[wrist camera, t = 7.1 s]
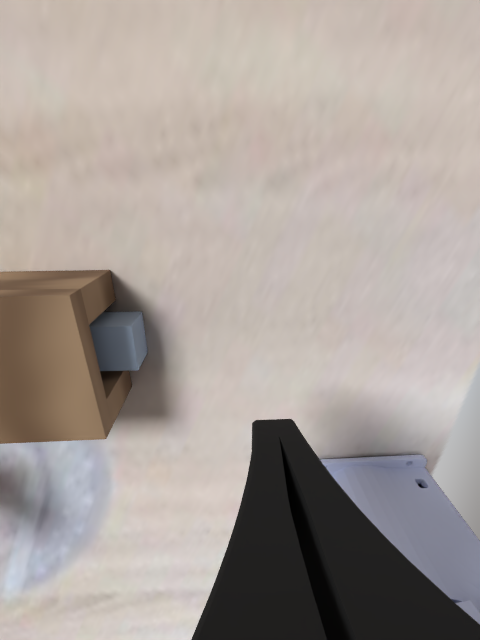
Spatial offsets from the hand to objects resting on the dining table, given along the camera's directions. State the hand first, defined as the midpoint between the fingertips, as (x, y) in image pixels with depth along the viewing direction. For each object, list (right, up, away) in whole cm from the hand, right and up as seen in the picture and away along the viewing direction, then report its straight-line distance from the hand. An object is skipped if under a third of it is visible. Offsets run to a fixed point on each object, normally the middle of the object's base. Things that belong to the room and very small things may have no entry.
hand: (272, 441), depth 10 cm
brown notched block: (-12, +3, +8) cm, 14 cm away
